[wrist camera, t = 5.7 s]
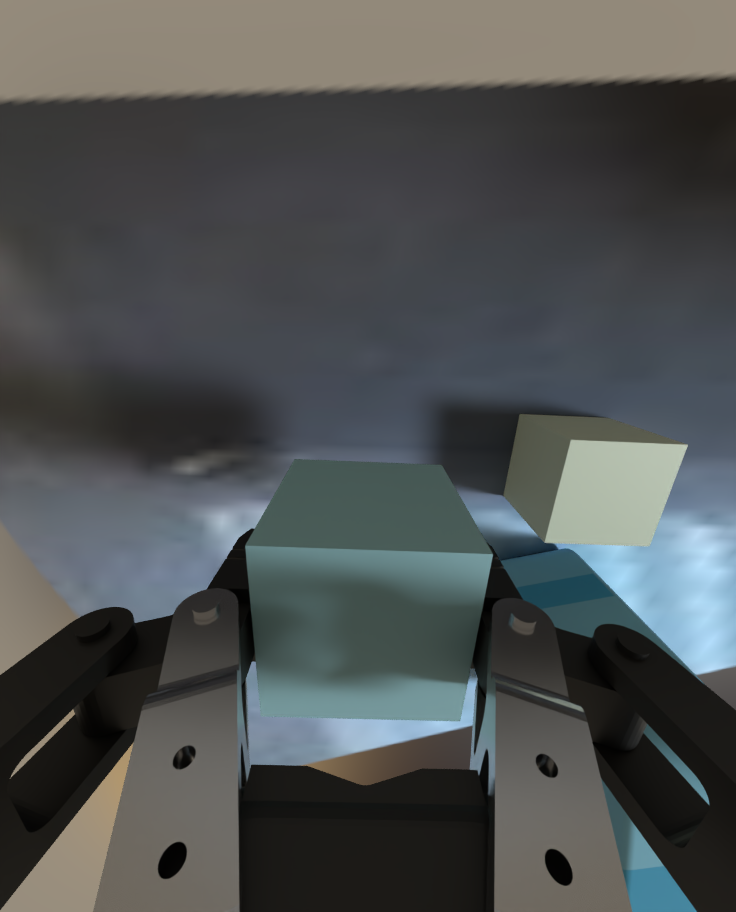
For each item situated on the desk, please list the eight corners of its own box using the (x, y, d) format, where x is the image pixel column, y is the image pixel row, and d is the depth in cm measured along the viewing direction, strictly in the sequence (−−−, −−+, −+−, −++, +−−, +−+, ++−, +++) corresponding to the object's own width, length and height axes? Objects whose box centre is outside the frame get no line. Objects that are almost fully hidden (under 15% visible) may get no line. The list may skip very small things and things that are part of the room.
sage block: (519, 413, 19) (570, 439, 14) (607, 417, 19) (688, 444, 14) (502, 495, 20) (544, 542, 16) (584, 498, 21) (649, 546, 16)
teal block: (294, 459, 12) (244, 545, 7) (441, 465, 12) (493, 554, 7) (298, 579, 13) (261, 716, 8) (427, 584, 13) (459, 721, 9)
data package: (491, 550, 22) (631, 783, 10) (563, 536, 21) (785, 761, 10) (506, 681, 26) (619, 953, 14) (567, 671, 25) (730, 940, 14)
